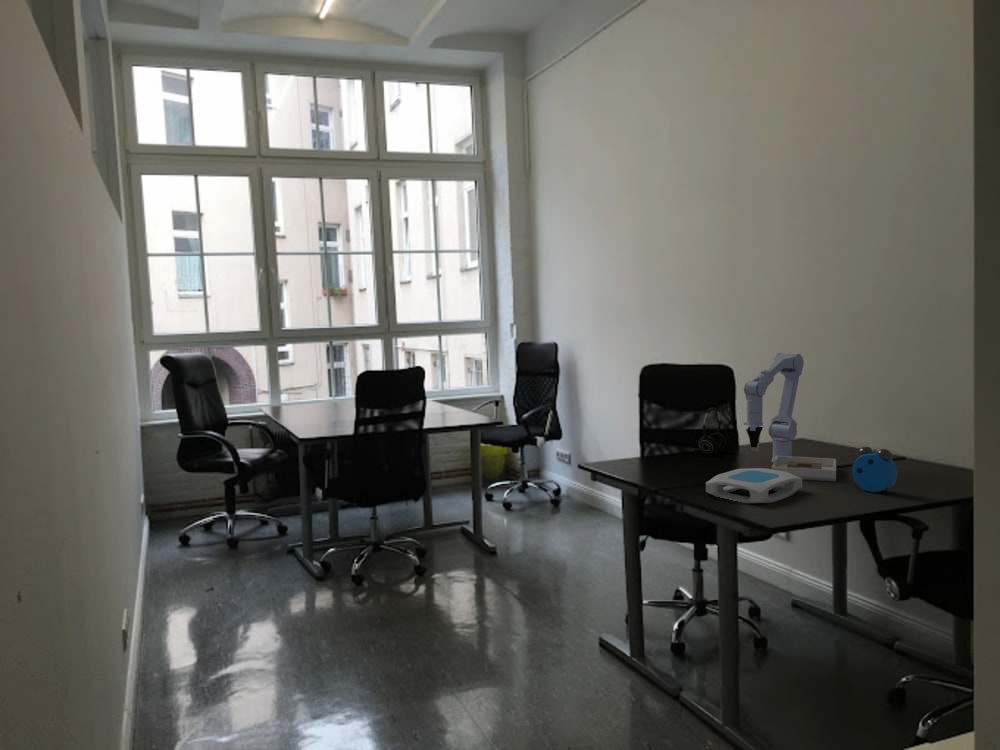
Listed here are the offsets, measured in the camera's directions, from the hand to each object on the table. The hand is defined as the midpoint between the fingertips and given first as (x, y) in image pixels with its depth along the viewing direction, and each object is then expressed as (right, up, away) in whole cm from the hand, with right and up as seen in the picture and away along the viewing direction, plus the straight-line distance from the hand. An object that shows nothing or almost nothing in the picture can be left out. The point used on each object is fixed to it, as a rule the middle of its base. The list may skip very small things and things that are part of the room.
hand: (754, 446), depth 307 cm
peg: (0, -2, 0) cm, 2 cm away
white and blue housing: (-12, -13, -37) cm, 41 cm away
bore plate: (+16, -9, -9) cm, 21 cm away
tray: (+16, -9, -9) cm, 21 cm away
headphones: (-8, -6, +32) cm, 34 cm away
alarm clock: (+29, -12, -38) cm, 49 cm away
